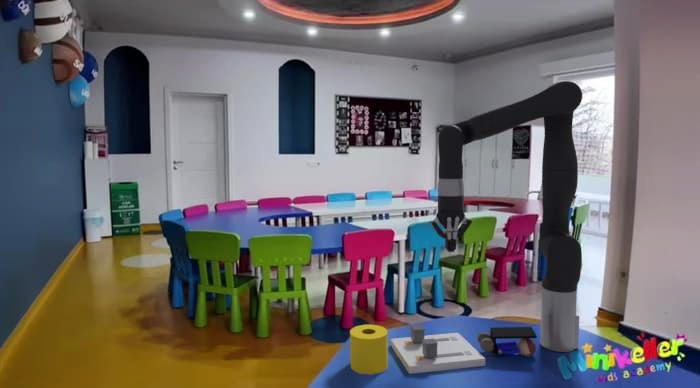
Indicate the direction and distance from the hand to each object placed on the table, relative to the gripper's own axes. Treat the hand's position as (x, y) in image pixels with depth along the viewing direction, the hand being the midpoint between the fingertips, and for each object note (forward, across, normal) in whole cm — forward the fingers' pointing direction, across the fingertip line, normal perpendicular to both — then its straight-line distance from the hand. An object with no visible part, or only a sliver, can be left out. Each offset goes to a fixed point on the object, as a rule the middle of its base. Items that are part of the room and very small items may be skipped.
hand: (450, 251), depth 142 cm
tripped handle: (+24, +12, +5) cm, 28 cm away
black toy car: (+27, -11, +14) cm, 33 cm away
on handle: (+24, +12, +15) cm, 31 cm away
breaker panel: (+27, +9, +10) cm, 30 cm away
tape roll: (+27, +28, +12) cm, 41 cm away
